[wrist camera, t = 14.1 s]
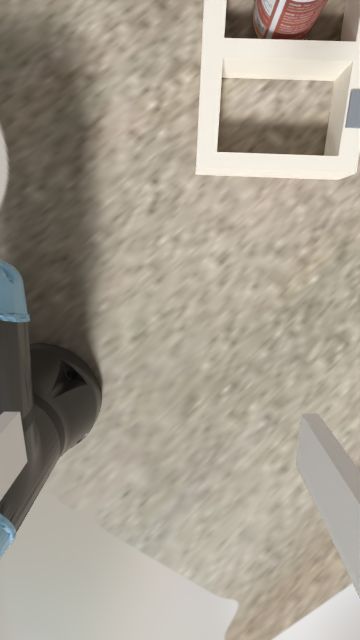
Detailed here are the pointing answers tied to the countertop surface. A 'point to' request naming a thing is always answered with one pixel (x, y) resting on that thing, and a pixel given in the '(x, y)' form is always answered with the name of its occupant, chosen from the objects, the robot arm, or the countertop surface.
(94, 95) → the countertop surface
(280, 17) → the pill bottle
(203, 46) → the white divided tray
